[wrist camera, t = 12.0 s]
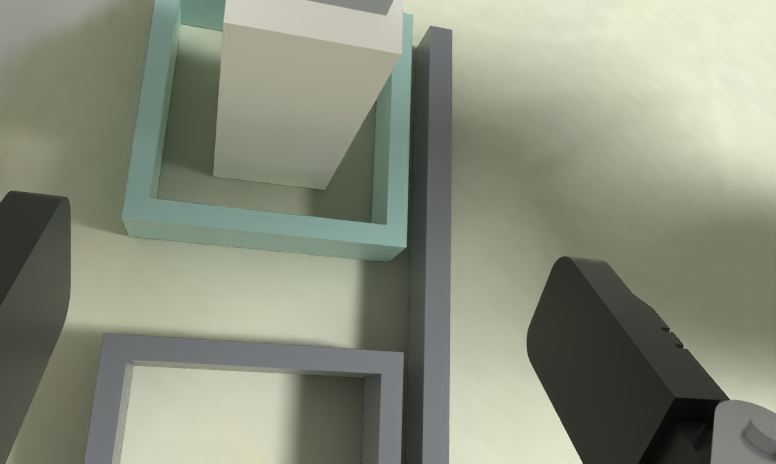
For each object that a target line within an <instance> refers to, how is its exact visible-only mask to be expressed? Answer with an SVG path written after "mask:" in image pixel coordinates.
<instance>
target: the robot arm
mask: <svg viewBox="0 0 776 464" xmlns="http://www.w3.org/2000/svg"><path fill="white" fill-rule="evenodd" d="M70 288H71V215H70V203H69V200H68V198H67V197H63V196H54V195H45V194H37V193H28V192H20V191H10V192H8V194H7V195H6V196H5V197H4V199H3V200H2V201H1V203H0V464H5V463H6V460H7V458H8V456H9V453H10V451H11V449H12V446H13V444H14V442H15V439H16V437H17V434H18V432H19V430H20V427H21V425H22V423H23V420H24V418H25V415H26V413H27V411H28V408H29V406H30V404H31V401H32V399H33V397H34V394H35V392H36V389H37V387H38V385H39V382H40V380H41V378H42V375H43V373H44V371H45V368H46V366H47V363H48V361H49V359H50V356H51V354H52V352H53V349H54V347H55V345H56V342H57V340H58V337H59V335H60V333H61V330H62V328H63V325H64V322H65V319H66V315H67V311H68V305H69V299H70ZM669 329H670V328H669V327H668V326H667V325H666V324H665V322H664V321H663V320H662V319H661V318H660V316H659V315H658V314H657V313H656V312H655V311H654V309H653V308H651V307H650V306H649V305H647V304H646V303H644V302H643V301H642V300H640V299H639V298H638V297H636V296H635V295H634V294H632V292H631V291H630V290H629V289H628V288H627V286H626V285H625V284H624V283H623V281H622V280H621V279H620V278H619V277H618V275H617V274H616V273H615V272H614V271H613V269H612V268H611V267H610V266H609V265H608V264H607V263H606V262H604V261H601V260H593V259H584V258H576V257H567V256H564V257H561V258H559V259H558V260H557V261H556V262H555V264H554V266H553V268H552V270H551V272H550V275H549V277H548V280H547V282H546V285H545V287H544V290H543V292H542V295H541V297H540V300H539V303H538V305H537V308H536V310H535V313H534V315H533V318H532V320H531V323H530V325H529V329H528V333H527V353H528V357H529V360H530V362H531V364H532V366H533V368H534V370H535V372H536V374H537V376H538V378H539V380H540V382H541V384H542V386H543V387H544V389H545V391H546V393H547V395H548V397H549V399H550V401H551V403H552V405H553V407H554V409H555V411H556V412H557V414H558V416H559V418H560V420H561V422H562V424H563V426H564V428H565V430H566V432H567V434H568V436H569V437H570V439H571V441H572V443H573V445H574V447H575V449H576V451H577V453H578V455H579V457H580V459H581V461H582V462H583V464H776V413H774V412H772V411H770V410H768V409H766V408H764V407H761V406H759V405H756V404H753V403H750V402H745V401H740V400H730V399H729V398H728V397H727V396H726V394H725V393H724V392H723V391H722V390H721V388H720V387H719V386H718V385H717V384H716V383H715V381H714V380H713V379H712V378H711V377H710V375H709V374H708V373H707V372H706V371H705V370H704V368H703V367H702V366H701V365H700V364H699V362H698V361H697V360H696V359H695V358H694V357H693V355H692V354H691V353H690V352H689V351H688V350H687V349H683V344H682V342H681V341H680V340H679V339H678V338H677V337H676V335H675V334H674V333H673V332H669Z"/></svg>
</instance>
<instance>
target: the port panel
mask: <svg viewBox="0 0 776 464" xmlns="http://www.w3.org/2000/svg"><path fill="white" fill-rule="evenodd" d="M225 5H226V0H155V3H154V9H153V16H152V22H151V29H150V35H149V42H148V48H147V55H146V61H145V68H144V74H143V81H142V87H141V94H140V100H139V107H138V113H137V120H136V126H135V133H134V139H133V146H132V152H131V159H130V165H129V172H128V178H127V185H126V191H125V198H124V204H123V211H122V217H121V218H122V220H123V223H124V226H125V228H126V231H127V234H128V236H129V237H139V238H150V239H160V240H170V241H180V242H190V243H200V244H210V245H221V246H231V247H241V248H251V249H261V250H271V251H281V252H291V253H302V254H312V255H322V256H332V257H342V258H352V259H362V260H372V261H383V262H389V261H391V260H392V259H393V258H394V257H396V256H397V255H398V254H399V253H401V252H402V251H403V250H404V249H405V248H407V213H408V175H409V138H410V100H411V63H412V25H413V15H410V14H405V13H403V28H402V55H401V56H400V58H399V60H398V62H397V63H396V65H395V67H394V69H393V71H392V72H391V74H390V76H389V78H388V79H387V81H386V83H385V85H384V86H383V88H382V90H381V92H380V94H379V95H378V97H377V103H376V126H375V150H374V174H373V197H372V221H371V223H365V222H356V221H347V220H338V219H330V218H321V217H312V216H303V215H294V214H285V213H277V212H268V211H259V210H250V209H241V208H232V207H224V206H215V205H206V204H197V203H188V202H179V201H171V200H162V199H157V192H158V185H159V178H160V171H161V164H162V156H163V149H164V142H165V135H166V128H167V120H168V113H169V106H170V99H171V92H172V85H173V77H174V70H175V63H176V56H177V49H178V41H179V34H180V27H181V24H187V25H192V26H198V27H203V28H209V29H215V30H220V31H223V22H224V14H225ZM451 111H452V30H450V29H445V28H439V27H434V26H430V27H429V29H428V30H427V32H426V34H425V35H424V37H423V39H422V40H421V42H420V44H419V45H418V47H417V49H416V67H415V108H414V149H413V189H412V230H411V270H410V311H409V352H408V392H407V433H406V464H449V384H450V247H451ZM403 363H404V352H392V351H377V350H361V349H345V348H329V347H314V346H298V345H282V344H267V343H251V342H235V341H219V340H204V339H188V338H172V337H157V336H141V335H125V334H109V333H104V335H103V341H102V348H101V354H100V361H99V367H98V374H97V380H96V387H95V393H94V400H93V406H92V413H91V419H90V426H89V432H88V439H87V445H86V452H85V458H84V464H120V458H121V451H122V444H123V437H124V429H125V422H126V415H127V408H128V401H129V393H130V386H131V379H132V372H133V365H134V366H153V367H172V368H191V369H210V370H229V371H248V372H267V373H286V374H305V375H324V376H343V377H362V378H365V385H364V409H363V432H362V456H361V464H401V439H402V401H403Z"/></svg>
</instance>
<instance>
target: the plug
mask: <svg viewBox="0 0 776 464" xmlns="http://www.w3.org/2000/svg"><path fill="white" fill-rule="evenodd" d="M402 28H403V0H226V5H225V14H224V22H223V37H222V52H221V67H220V81H219V96H218V111H217V125H216V140H215V155H214V170H213V176H214V177H223V178H231V179H239V180H247V181H255V182H263V183H272V184H280V185H288V186H296V187H304V188H313V189H321V190H325V189H326V187H327V186H328V184H329V182H330V180H331V179H332V177H333V175H334V173H335V171H336V170H337V168H338V166H339V164H340V163H341V161H342V159H343V157H344V156H345V154H346V152H347V150H348V148H349V147H350V145H351V143H352V141H353V140H354V138H355V136H356V134H357V133H358V131H359V129H360V127H361V125H362V124H363V122H364V120H365V118H366V117H367V115H368V113H369V111H370V110H371V108H372V106H373V104H374V102H375V101H376V99H377V97H378V95H379V94H380V92H381V90H382V88H383V86H384V85H385V83H386V81H387V79H388V78H389V76H390V74H391V72H392V71H393V69H394V67H395V65H396V63H397V62H398V60H399V58H400V56H401V55H402Z"/></svg>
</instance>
